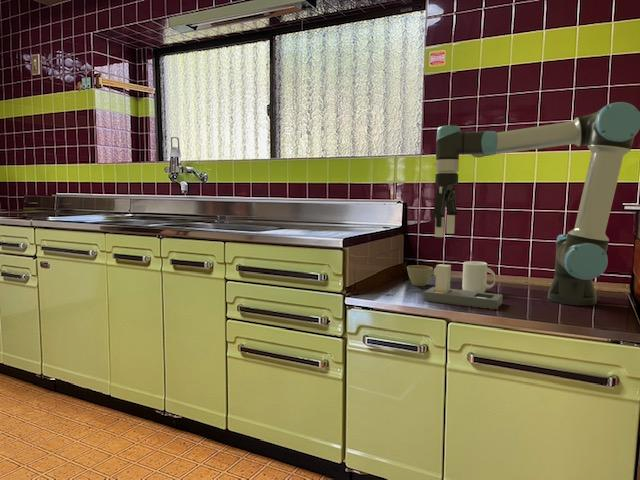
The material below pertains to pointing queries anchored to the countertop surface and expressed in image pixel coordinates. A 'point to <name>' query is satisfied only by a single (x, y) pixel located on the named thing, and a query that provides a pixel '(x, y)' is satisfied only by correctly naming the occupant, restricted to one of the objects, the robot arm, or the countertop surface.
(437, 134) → the robot arm
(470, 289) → the mug
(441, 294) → the panel
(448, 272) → the plug
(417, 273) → the flower pot
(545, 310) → the countertop surface
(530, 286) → the countertop surface
